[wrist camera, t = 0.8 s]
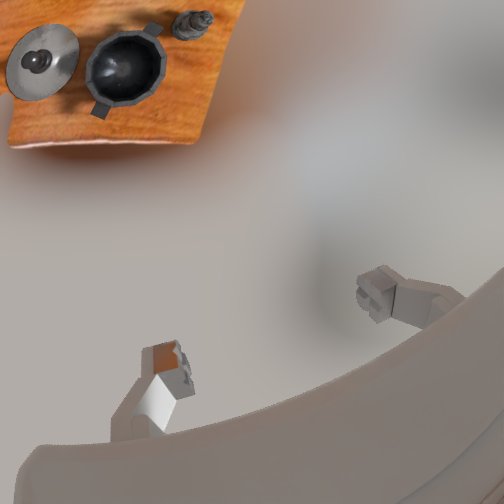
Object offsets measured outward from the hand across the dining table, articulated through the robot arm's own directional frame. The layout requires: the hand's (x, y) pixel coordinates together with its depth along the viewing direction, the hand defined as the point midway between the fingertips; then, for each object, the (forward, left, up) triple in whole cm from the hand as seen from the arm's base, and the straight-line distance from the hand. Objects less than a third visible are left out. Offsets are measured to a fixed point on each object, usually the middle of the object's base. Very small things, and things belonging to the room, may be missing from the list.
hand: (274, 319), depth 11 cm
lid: (-22, +3, -46) cm, 51 cm away
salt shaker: (-2, +19, -46) cm, 49 cm away
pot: (-7, +7, -45) cm, 46 cm away
